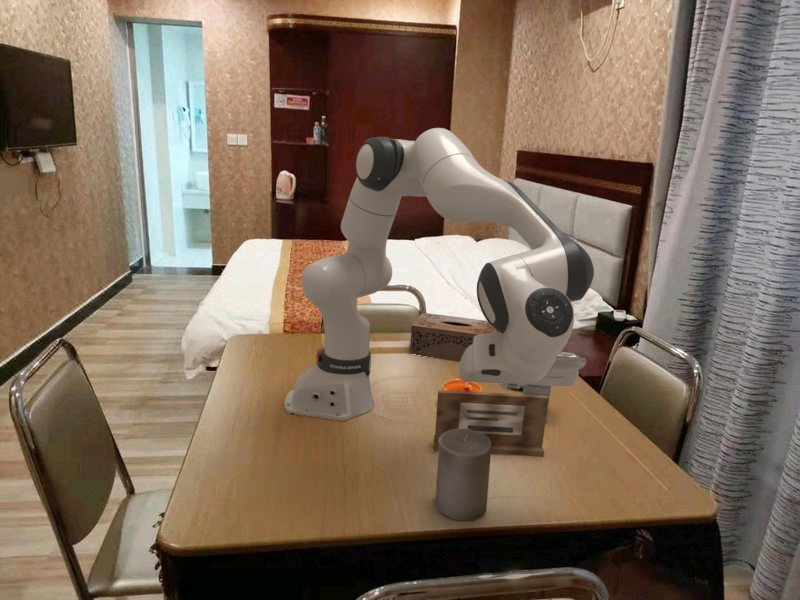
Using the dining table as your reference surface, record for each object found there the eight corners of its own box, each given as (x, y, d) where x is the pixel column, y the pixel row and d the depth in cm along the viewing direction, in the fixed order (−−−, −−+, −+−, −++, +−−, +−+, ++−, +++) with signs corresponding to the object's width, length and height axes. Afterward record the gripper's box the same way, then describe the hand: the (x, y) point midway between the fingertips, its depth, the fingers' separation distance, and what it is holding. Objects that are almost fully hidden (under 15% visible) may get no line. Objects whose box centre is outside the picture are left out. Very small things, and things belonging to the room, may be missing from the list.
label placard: (434, 450, 128) (438, 396, 125) (434, 439, 133) (437, 386, 130) (543, 456, 128) (550, 401, 125) (538, 444, 133) (545, 391, 129)
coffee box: (520, 404, 153) (527, 347, 148) (545, 407, 152) (553, 350, 147) (520, 420, 144) (527, 360, 140) (547, 423, 143) (555, 363, 139)
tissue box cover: (496, 351, 191) (499, 322, 188) (491, 367, 177) (494, 336, 174) (420, 340, 197) (422, 312, 194) (409, 355, 184) (411, 325, 181)
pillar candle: (481, 490, 115) (486, 422, 111) (490, 522, 106) (497, 448, 101) (432, 490, 114) (436, 421, 110) (437, 522, 105) (442, 448, 101)
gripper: (587, 340, 97) (565, 371, 109) (465, 334, 97) (456, 366, 109) (591, 375, 94) (568, 403, 106) (465, 369, 94) (456, 398, 106)
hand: (510, 384), depth 108 cm, fingers closed
